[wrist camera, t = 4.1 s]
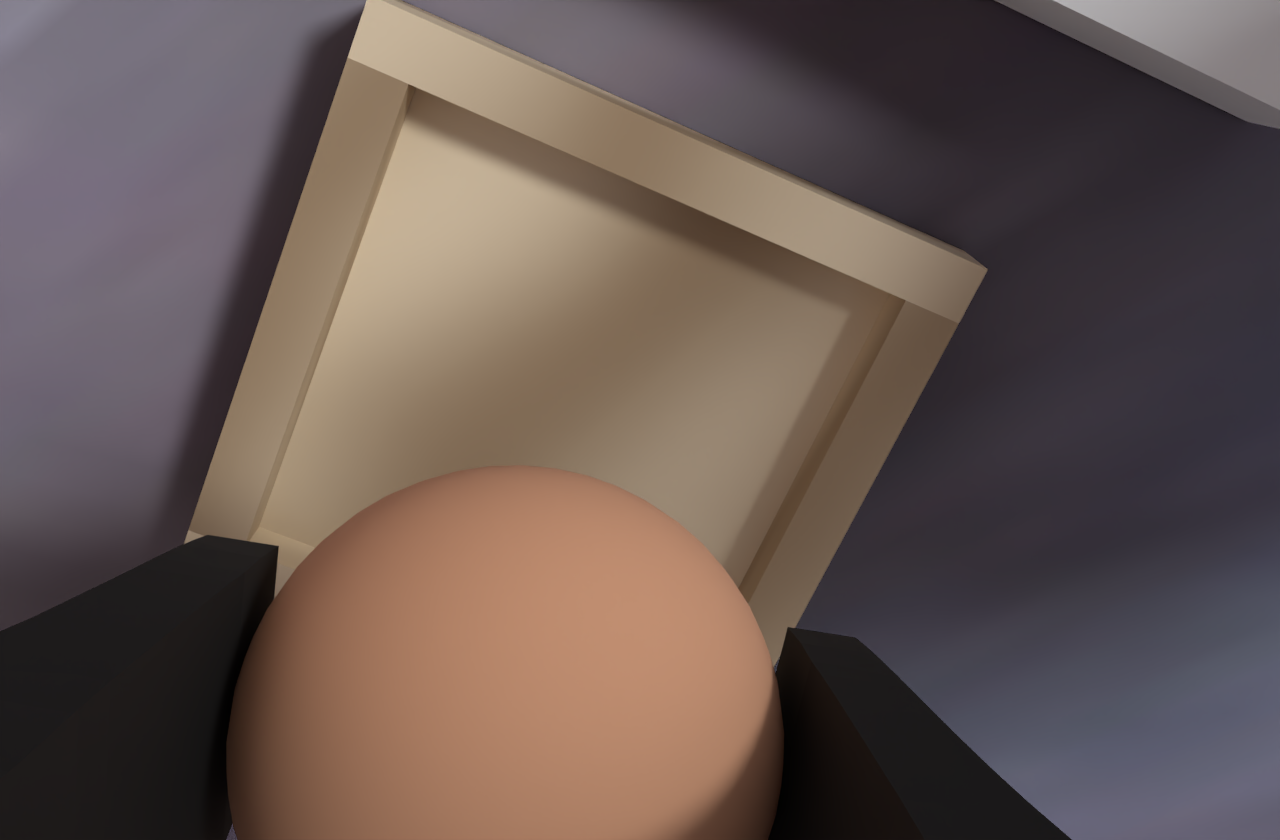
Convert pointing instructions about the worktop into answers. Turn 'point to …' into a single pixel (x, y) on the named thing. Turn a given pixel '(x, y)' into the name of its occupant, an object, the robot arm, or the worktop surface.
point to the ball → (507, 676)
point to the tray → (574, 317)
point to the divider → (1183, 45)
